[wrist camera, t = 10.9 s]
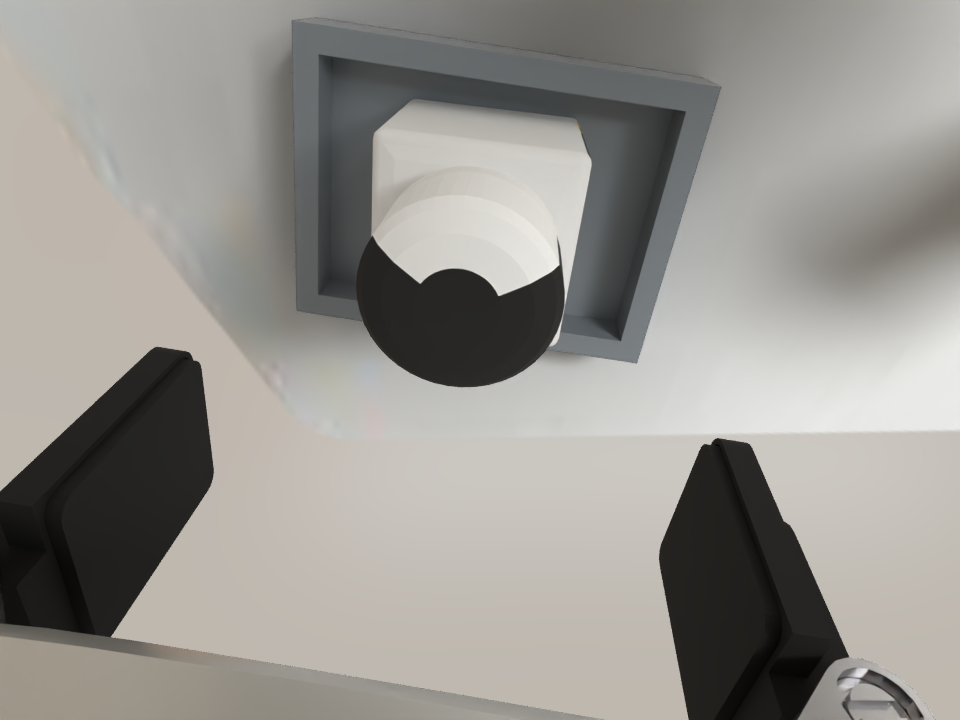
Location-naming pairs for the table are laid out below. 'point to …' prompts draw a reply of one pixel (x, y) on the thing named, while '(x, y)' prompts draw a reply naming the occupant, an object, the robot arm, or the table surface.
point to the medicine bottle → (471, 238)
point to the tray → (510, 86)
